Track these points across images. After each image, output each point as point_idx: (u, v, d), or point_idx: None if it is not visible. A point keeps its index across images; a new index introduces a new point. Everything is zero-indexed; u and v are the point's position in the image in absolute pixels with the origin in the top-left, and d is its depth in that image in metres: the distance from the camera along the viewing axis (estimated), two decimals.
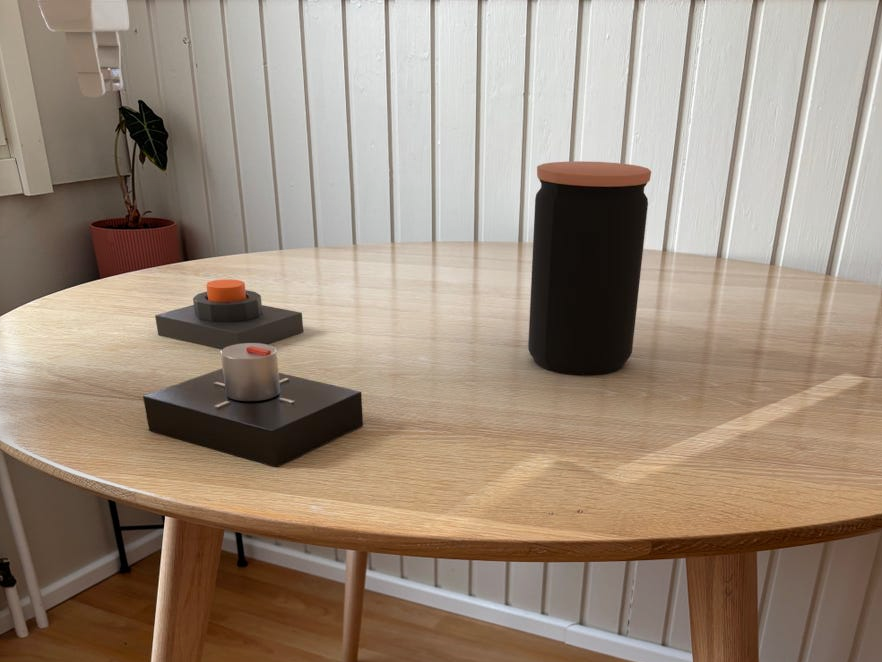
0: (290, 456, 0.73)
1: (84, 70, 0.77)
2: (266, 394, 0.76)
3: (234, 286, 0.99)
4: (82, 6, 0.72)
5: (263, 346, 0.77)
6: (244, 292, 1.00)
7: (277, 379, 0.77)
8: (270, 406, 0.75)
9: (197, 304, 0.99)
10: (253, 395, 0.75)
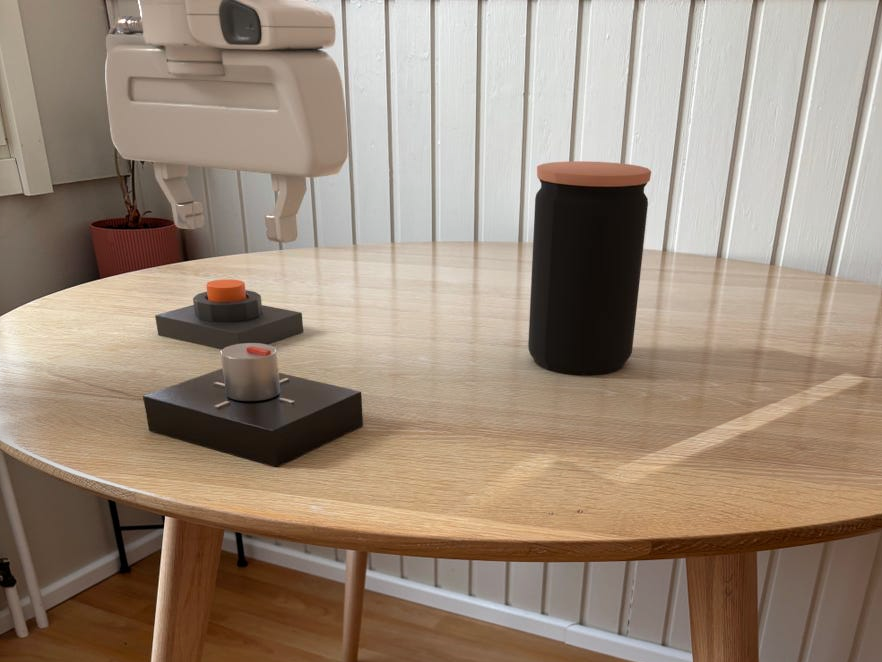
0: (290, 456, 0.73)
1: (287, 213, 0.68)
2: (266, 394, 0.76)
3: (234, 286, 0.99)
4: (344, 148, 0.64)
5: (263, 346, 0.77)
6: (244, 292, 1.00)
7: (277, 379, 0.77)
8: (270, 406, 0.75)
9: (197, 304, 0.99)
10: (253, 395, 0.75)
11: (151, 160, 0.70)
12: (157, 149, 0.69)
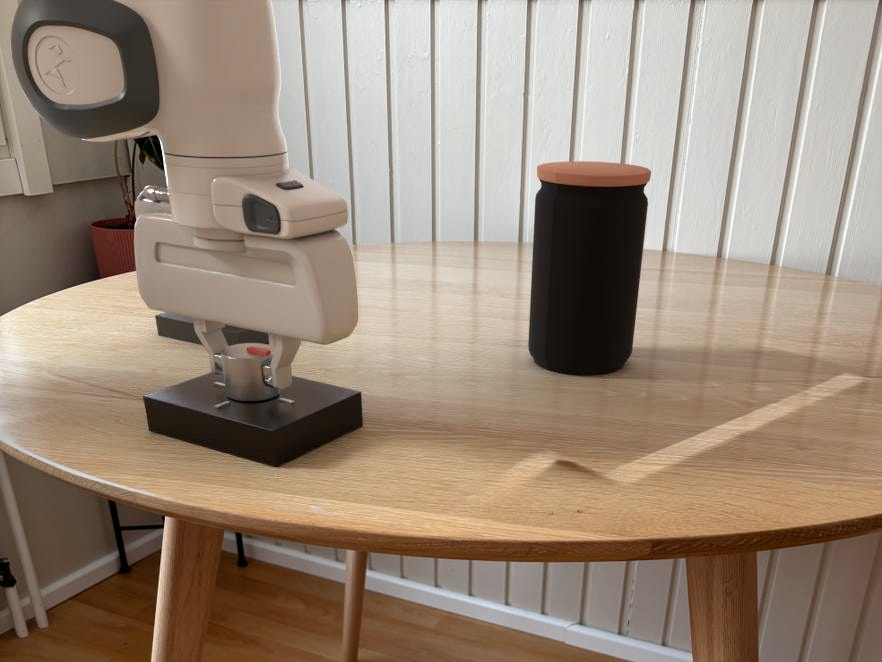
0: (290, 456, 0.73)
1: (283, 365, 0.74)
2: (266, 394, 0.76)
3: None
4: (355, 316, 0.70)
5: (263, 346, 0.77)
6: None
7: None
8: (270, 406, 0.75)
9: None
10: (253, 395, 0.75)
11: (175, 313, 0.76)
12: (181, 305, 0.75)
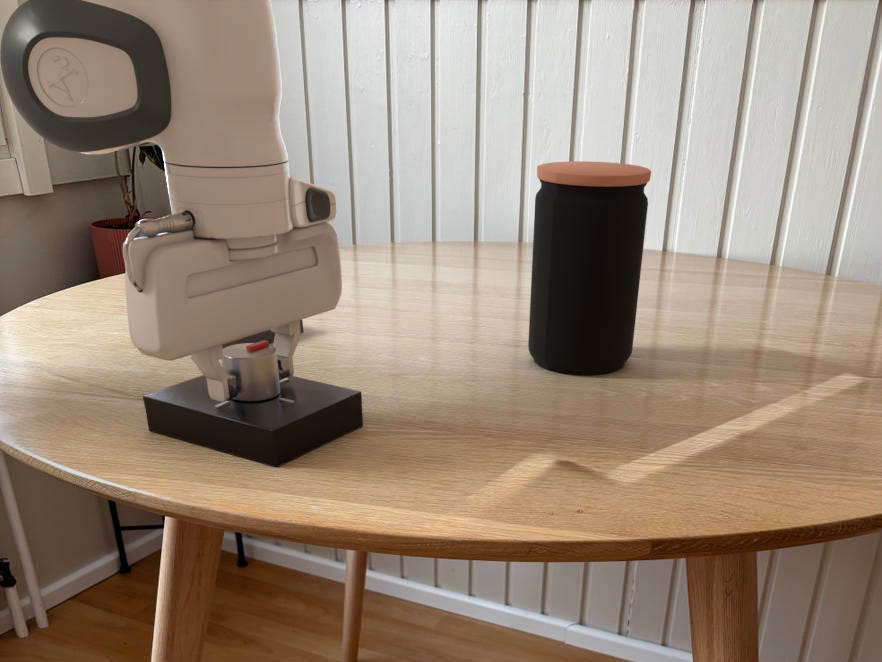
0: (290, 456, 0.73)
1: None
2: None
3: None
4: None
5: (236, 346, 0.76)
6: None
7: None
8: (270, 406, 0.75)
9: None
10: (279, 385, 0.78)
11: (205, 349, 0.69)
12: (215, 335, 0.70)
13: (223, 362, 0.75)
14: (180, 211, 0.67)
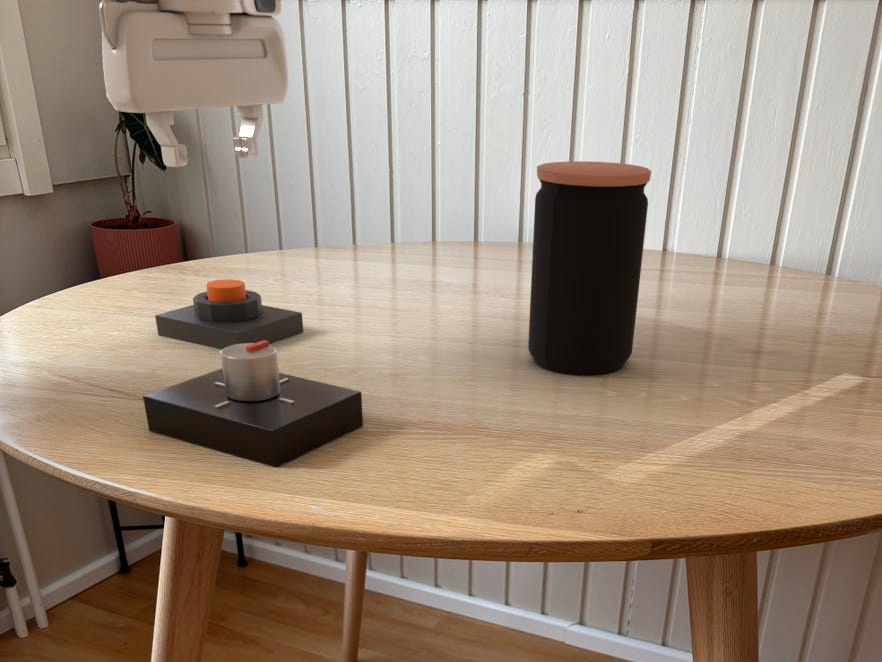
0: (290, 456, 0.73)
1: None
2: None
3: (234, 286, 0.99)
4: None
5: (236, 346, 0.76)
6: (244, 292, 1.00)
7: None
8: (270, 406, 0.75)
9: (197, 304, 0.99)
10: (279, 385, 0.78)
11: (169, 109, 0.84)
12: (178, 98, 0.84)
13: (223, 362, 0.75)
14: None
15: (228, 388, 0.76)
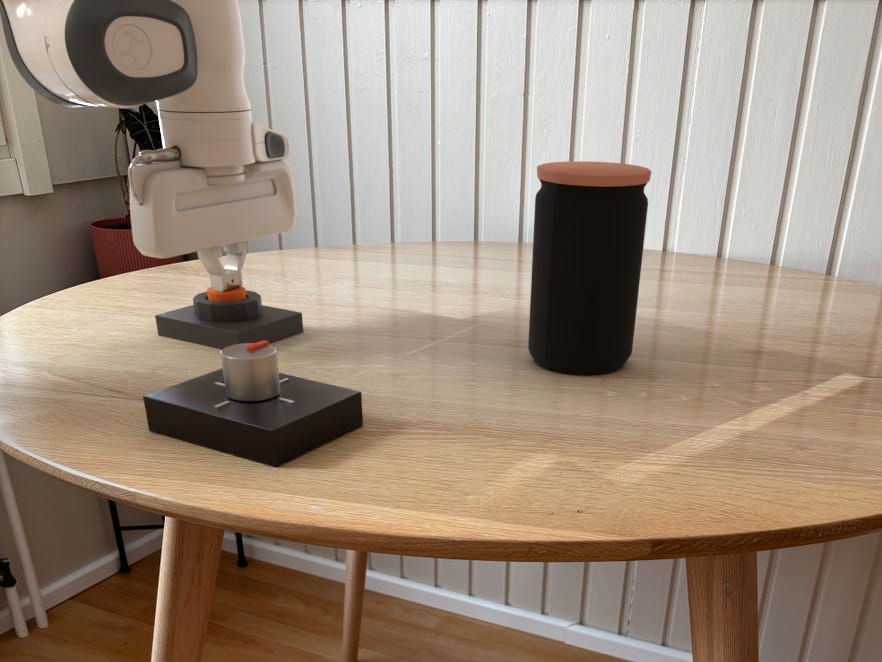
0: (290, 456, 0.73)
1: None
2: None
3: (235, 292, 0.99)
4: None
5: (236, 346, 0.76)
6: (245, 298, 1.01)
7: None
8: (270, 406, 0.75)
9: (197, 304, 0.99)
10: (279, 385, 0.78)
11: (189, 252, 0.93)
12: (197, 241, 0.93)
13: (223, 362, 0.75)
14: (170, 146, 0.90)
15: (228, 388, 0.76)
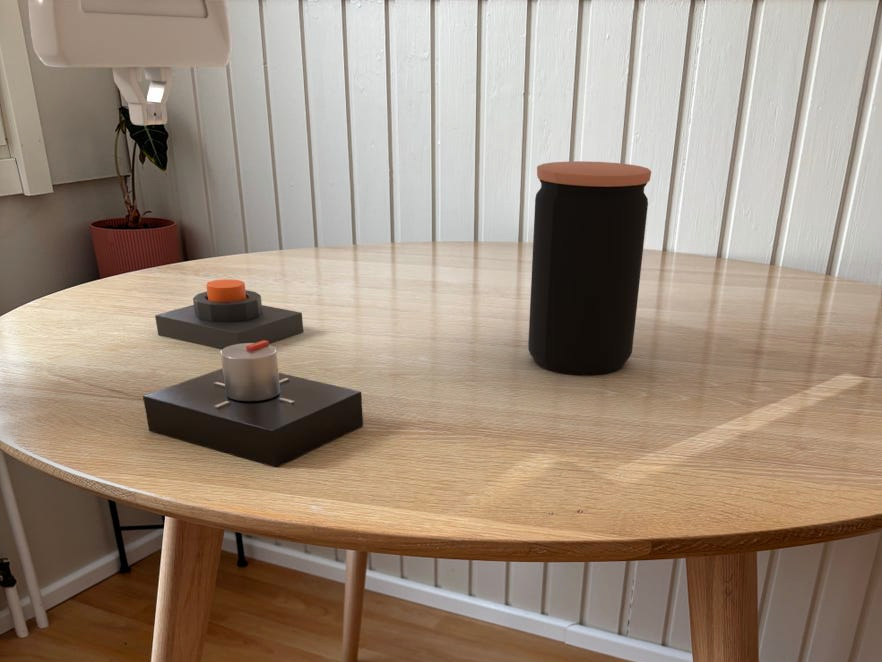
0: (290, 456, 0.73)
1: None
2: None
3: (234, 286, 0.99)
4: None
5: (236, 346, 0.76)
6: (244, 292, 1.00)
7: None
8: (270, 406, 0.75)
9: (197, 304, 0.99)
10: (279, 385, 0.78)
11: (100, 65, 0.80)
12: (110, 54, 0.80)
13: (223, 362, 0.75)
14: None
15: (228, 388, 0.76)
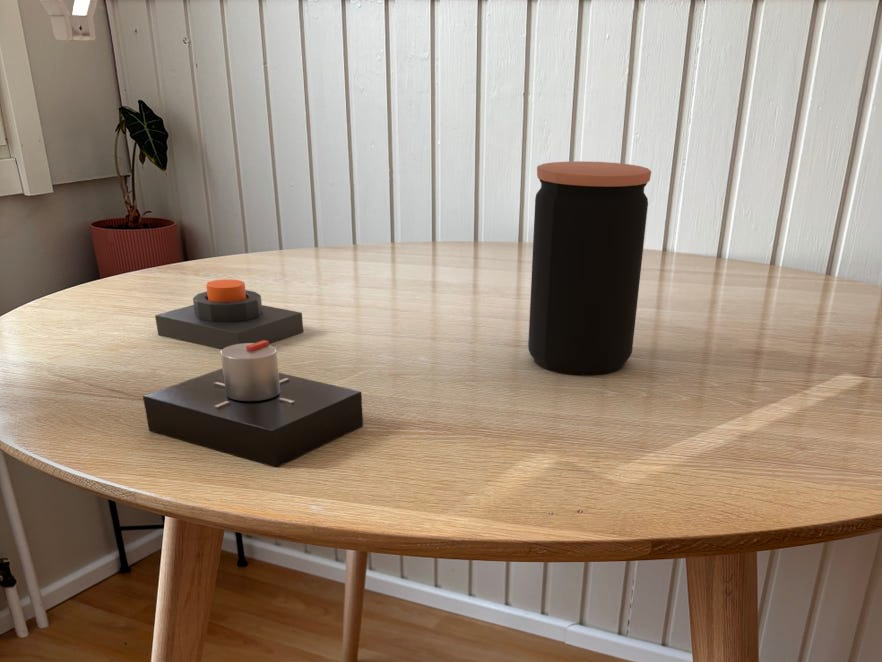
0: (290, 456, 0.73)
1: None
2: None
3: (234, 286, 0.99)
4: None
5: (236, 346, 0.76)
6: (244, 292, 1.00)
7: None
8: (270, 406, 0.75)
9: (197, 304, 0.99)
10: (279, 385, 0.78)
11: None
12: None
13: (223, 362, 0.75)
14: None
15: (228, 388, 0.76)
